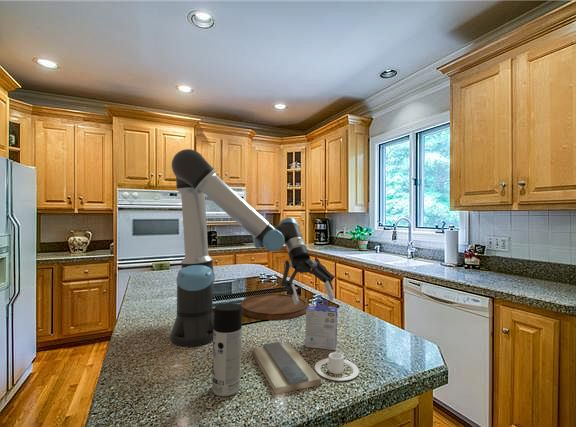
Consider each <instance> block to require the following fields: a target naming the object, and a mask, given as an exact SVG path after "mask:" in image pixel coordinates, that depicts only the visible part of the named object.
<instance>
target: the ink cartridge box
mask: <svg viewBox="0 0 576 427" xmlns="http://www.w3.org/2000/svg"><path fill="white" fill-rule="evenodd" d="M322 302H323V303H324V304H322ZM328 303H329V300H328V299H319V298H317V299H316V304H315V305H309V306H308V307H307V309H306V314H305V342H304V343H305V345H304V346H305V348H311V349H312V348H313V349H320V350H321V349H322V350H331V351H336V349H337V345H338V343H337V342H338V307H337V306H329V304H328Z"/></svg>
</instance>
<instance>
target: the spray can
mask: <svg viewBox="0 0 576 427" xmlns="http://www.w3.org/2000/svg"><path fill="white" fill-rule="evenodd" d="M213 309H214V312H213V317H214V327H213V328H214V331H213V341H212V378H211V380H212V383H211V389H212V393H213V394H214V395H215V396H217V397H220V398H227V397H229V398H230V397H232V396H234V395H235V394H237V393H238V392H239V391H240V388H241V366H242V365H241V364H242V361H241V360H242V329H243V328H242V326H243V325H242V324H243V322H242V321H243V319H242V318H243V314H242V307H241V305H240V304H239V303H238V304H237V303H221V304H217V305H215V307H214V308H213Z"/></svg>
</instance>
